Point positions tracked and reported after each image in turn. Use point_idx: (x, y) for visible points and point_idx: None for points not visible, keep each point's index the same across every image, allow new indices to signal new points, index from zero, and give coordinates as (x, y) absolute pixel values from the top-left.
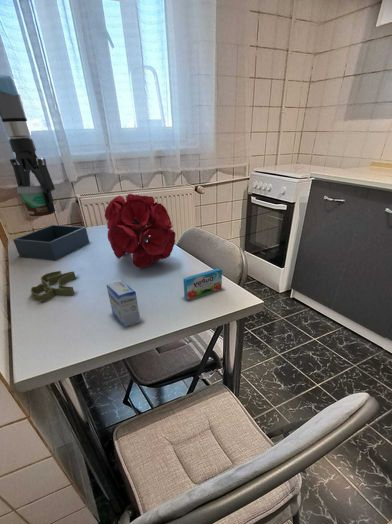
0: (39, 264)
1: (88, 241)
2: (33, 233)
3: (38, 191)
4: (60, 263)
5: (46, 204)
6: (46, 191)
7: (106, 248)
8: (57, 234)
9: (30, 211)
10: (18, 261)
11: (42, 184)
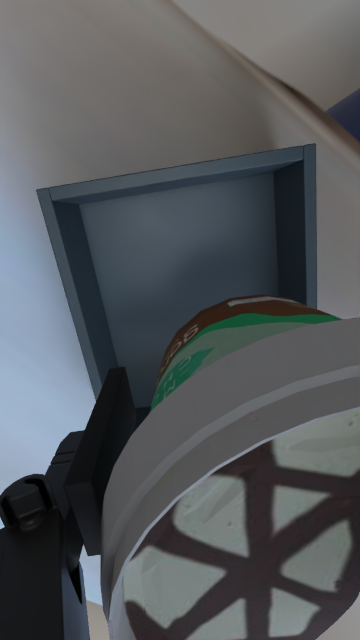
0: (91, 121)
1: None
2: (304, 294)
3: (113, 474)
4: (13, 176)
5: (112, 400)
6: (8, 515)
7: (4, 392)
8: None
9: (261, 301)
10: (226, 105)
11: (6, 628)
